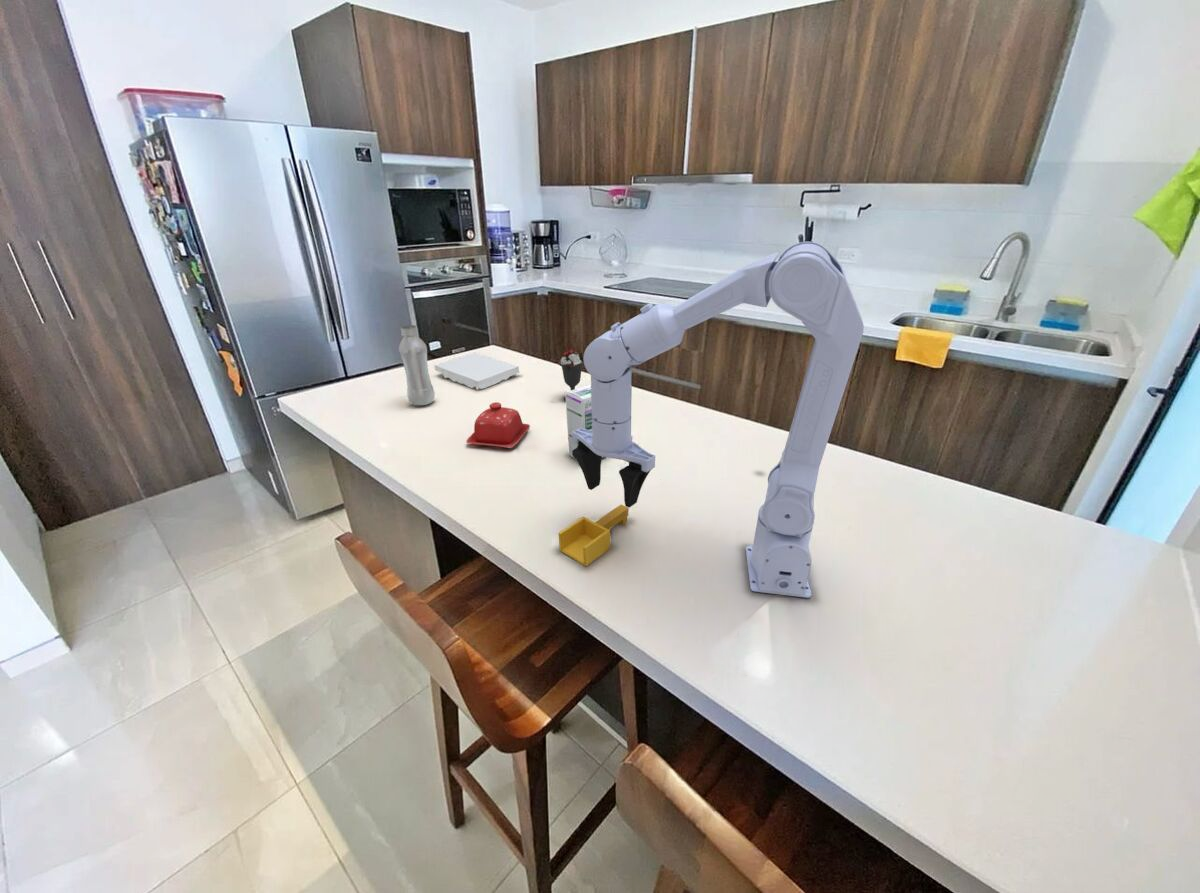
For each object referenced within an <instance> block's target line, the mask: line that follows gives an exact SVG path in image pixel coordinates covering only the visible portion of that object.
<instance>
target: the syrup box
mask: <svg viewBox="0 0 1200 893" xmlns="http://www.w3.org/2000/svg"><path fill="white" fill-rule="evenodd" d="M564 393H565V396H564V397H566V401H565V411H566V428H567V441H568V442H567V443H568V455H569V456H570V457H572V458H573V459H574V460H576V459H575V458H574V456H573V455H572V451H573V450H574V449H576V448H577V446H578V444H575V443H573V439H572V432H573V431H575V430H577V429H579V428H583V429H586V430H591V431H592V407H591V385H589V384H587V385H585V386H581V387H577V388H575V389H574V390H567V391H565V392H564ZM602 459H604V457H603V456H602Z"/></svg>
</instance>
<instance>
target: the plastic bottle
mask: <svg viewBox="0 0 1200 893" xmlns="http://www.w3.org/2000/svg"><path fill="white" fill-rule="evenodd" d="M400 335H401V336H402V339H401V341H400V342H399V344H398V352H399V355H400V358H401V361H402V364H403V367H404V372H405V377H406V386H407V387H406V388H407V389H406V394H407V399H408V401H409V403H410V404H411V405H413V406H426V405H429V404H431V403H433V402H434V400H435V398H436V396H435V394H436V393H435V389H434V386H433V384H432V380H431V377H430V373H429V365H428V347H427V344H426V343H425V342H424V340H423V339H422V338H421V337H419V336H418V335H419V331H418V327H417V325H412V324H409V325H403V326H400Z"/></svg>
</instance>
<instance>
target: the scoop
mask: <svg viewBox="0 0 1200 893" xmlns="http://www.w3.org/2000/svg"><path fill="white" fill-rule="evenodd" d="M628 517H629V508H628V507H626V506H625V504H624V505H623V504H619V505H618V506H617V507H615V508H614V509H612V510H610V511H609V512H608V513H606V514H605V515H603V516H602V517H600V518H599V519H598V520H596V521H593V520H591V519H589V518H588V517H585V516H582V517H580V518H579V519H577V520H576V521H574V522H573V523H571V524H569V525H568V526H567V527H564V529H562V530H561V531H559V532H558V533H557V534H558V548H559V552H561V553H563V554H564V555H566V556H567V557H569V558H570V559H572V560H574V561H575V562H577V563H579V564H580V565H583V566H584V567H588V566H589V565H590V564H592V563H593V562H594V561H595V560H597V559H598V558H599V557H601V556H602V555H604V554H605V553H606V552H607V551H609V550H610V549H611V529H612V528H613V527H615V526H616V525H617V524H620V525H622V526H624V525H626V524H627V523H628Z"/></svg>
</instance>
